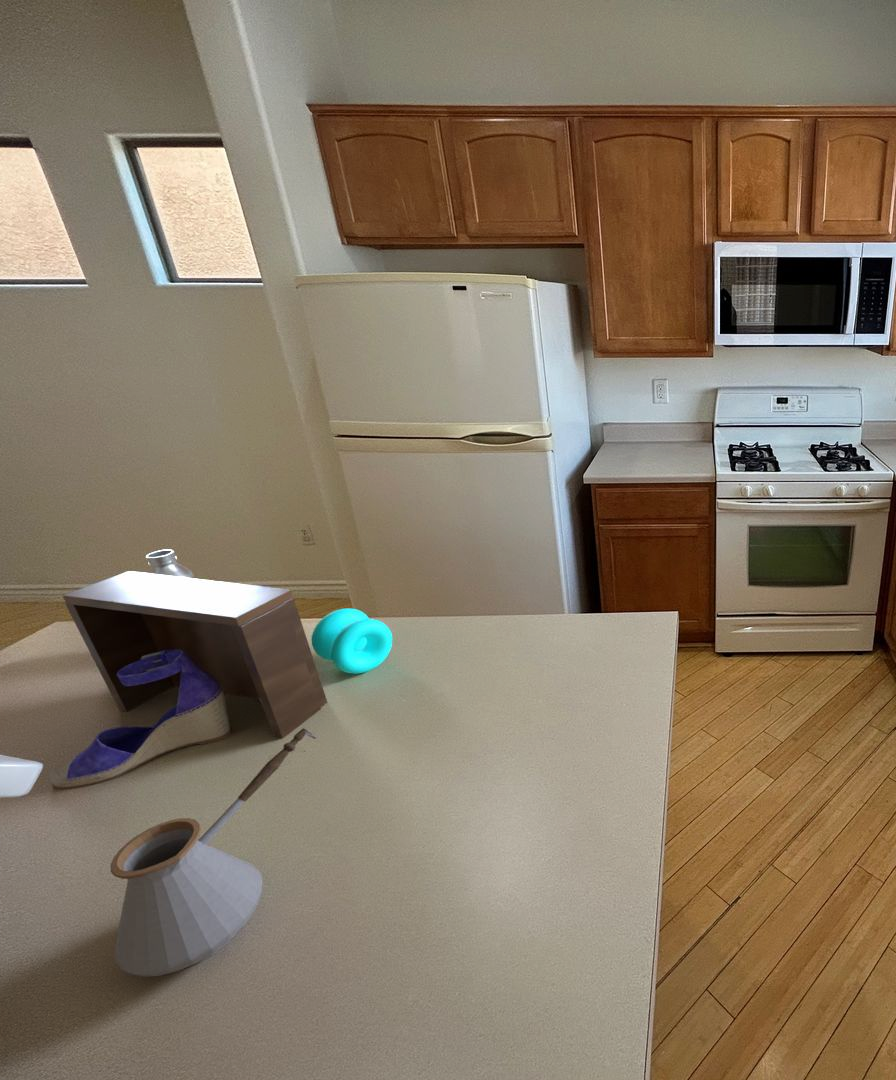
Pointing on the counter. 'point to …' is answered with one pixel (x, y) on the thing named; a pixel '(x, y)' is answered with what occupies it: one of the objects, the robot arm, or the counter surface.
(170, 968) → the coffee pot
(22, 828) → the counter surface
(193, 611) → the shoe rack
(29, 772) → the robot arm
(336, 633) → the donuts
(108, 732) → the sandal
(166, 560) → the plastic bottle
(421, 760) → the counter surface
